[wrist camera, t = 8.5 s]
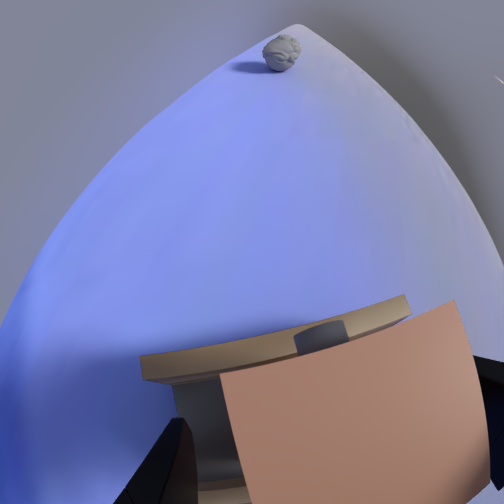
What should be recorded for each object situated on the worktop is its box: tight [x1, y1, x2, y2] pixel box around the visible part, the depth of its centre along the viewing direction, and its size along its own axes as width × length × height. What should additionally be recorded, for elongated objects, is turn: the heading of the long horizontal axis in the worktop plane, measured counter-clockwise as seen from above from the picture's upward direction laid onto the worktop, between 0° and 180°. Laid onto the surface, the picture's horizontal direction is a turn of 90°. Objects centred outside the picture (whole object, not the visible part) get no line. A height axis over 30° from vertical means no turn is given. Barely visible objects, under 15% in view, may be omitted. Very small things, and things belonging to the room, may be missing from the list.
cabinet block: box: [220, 300, 490, 504], centre depth 9 cm, size 6×5×13 cm
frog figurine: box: [262, 35, 301, 71], centre depth 36 cm, size 6×7×7 cm
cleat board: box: [140, 294, 412, 504], centre depth 12 cm, size 13×14×6 cm
